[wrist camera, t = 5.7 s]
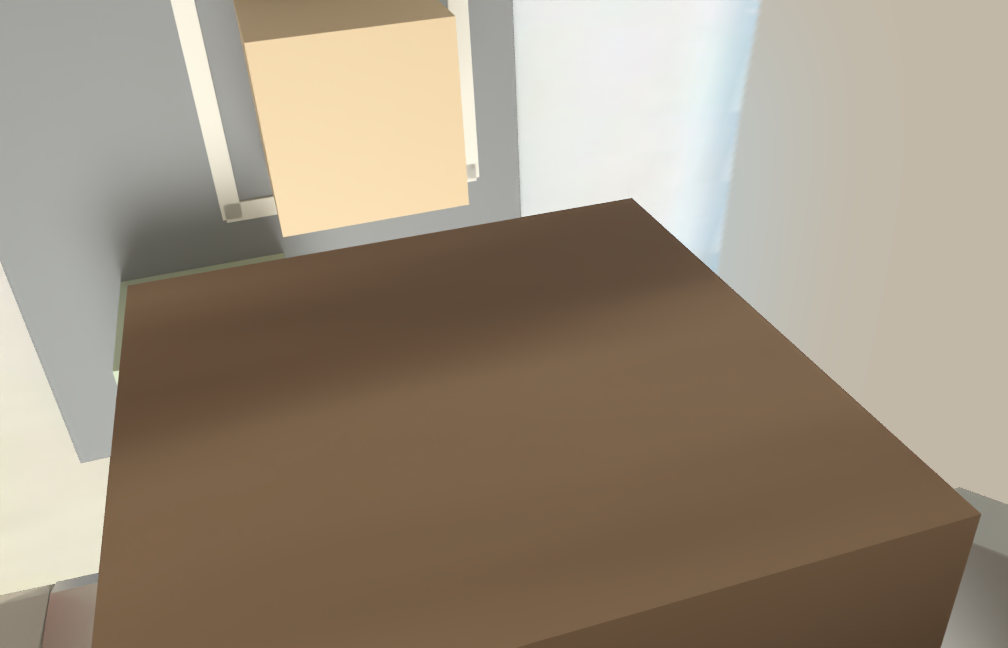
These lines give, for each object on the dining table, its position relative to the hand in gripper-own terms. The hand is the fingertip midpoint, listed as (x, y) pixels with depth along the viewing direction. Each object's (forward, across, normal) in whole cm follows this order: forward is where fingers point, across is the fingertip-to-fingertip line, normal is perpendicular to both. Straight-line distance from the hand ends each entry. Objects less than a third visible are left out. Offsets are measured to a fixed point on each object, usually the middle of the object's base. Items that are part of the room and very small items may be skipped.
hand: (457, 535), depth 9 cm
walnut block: (+2, 0, 0) cm, 2 cm away
